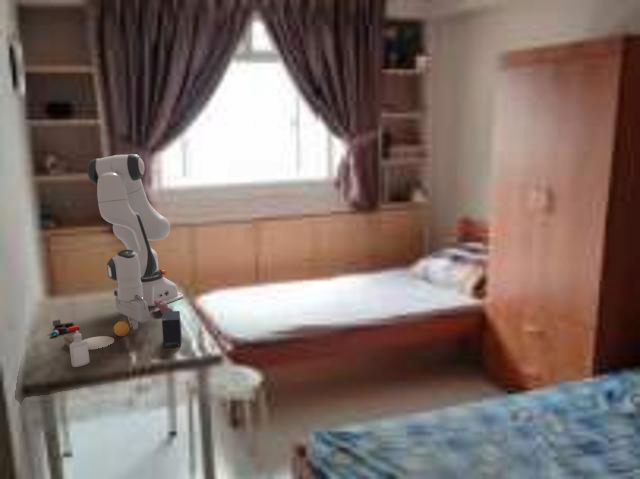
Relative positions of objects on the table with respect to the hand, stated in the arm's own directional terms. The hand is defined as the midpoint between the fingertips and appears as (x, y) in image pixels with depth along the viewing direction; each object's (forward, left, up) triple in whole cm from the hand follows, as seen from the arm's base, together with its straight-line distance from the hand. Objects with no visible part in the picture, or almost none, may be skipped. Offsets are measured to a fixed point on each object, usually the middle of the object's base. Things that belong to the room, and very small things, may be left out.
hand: (134, 328), depth 240 cm
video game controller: (-20, -14, -2) cm, 25 cm away
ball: (+5, 0, +1) cm, 5 cm away
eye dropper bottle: (+27, +16, -2) cm, 32 cm away
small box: (-5, +21, -2) cm, 21 cm away
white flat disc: (+15, 0, -2) cm, 15 cm away
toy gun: (+18, -21, -2) cm, 28 cm away
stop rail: (+22, 0, -2) cm, 23 cm away
